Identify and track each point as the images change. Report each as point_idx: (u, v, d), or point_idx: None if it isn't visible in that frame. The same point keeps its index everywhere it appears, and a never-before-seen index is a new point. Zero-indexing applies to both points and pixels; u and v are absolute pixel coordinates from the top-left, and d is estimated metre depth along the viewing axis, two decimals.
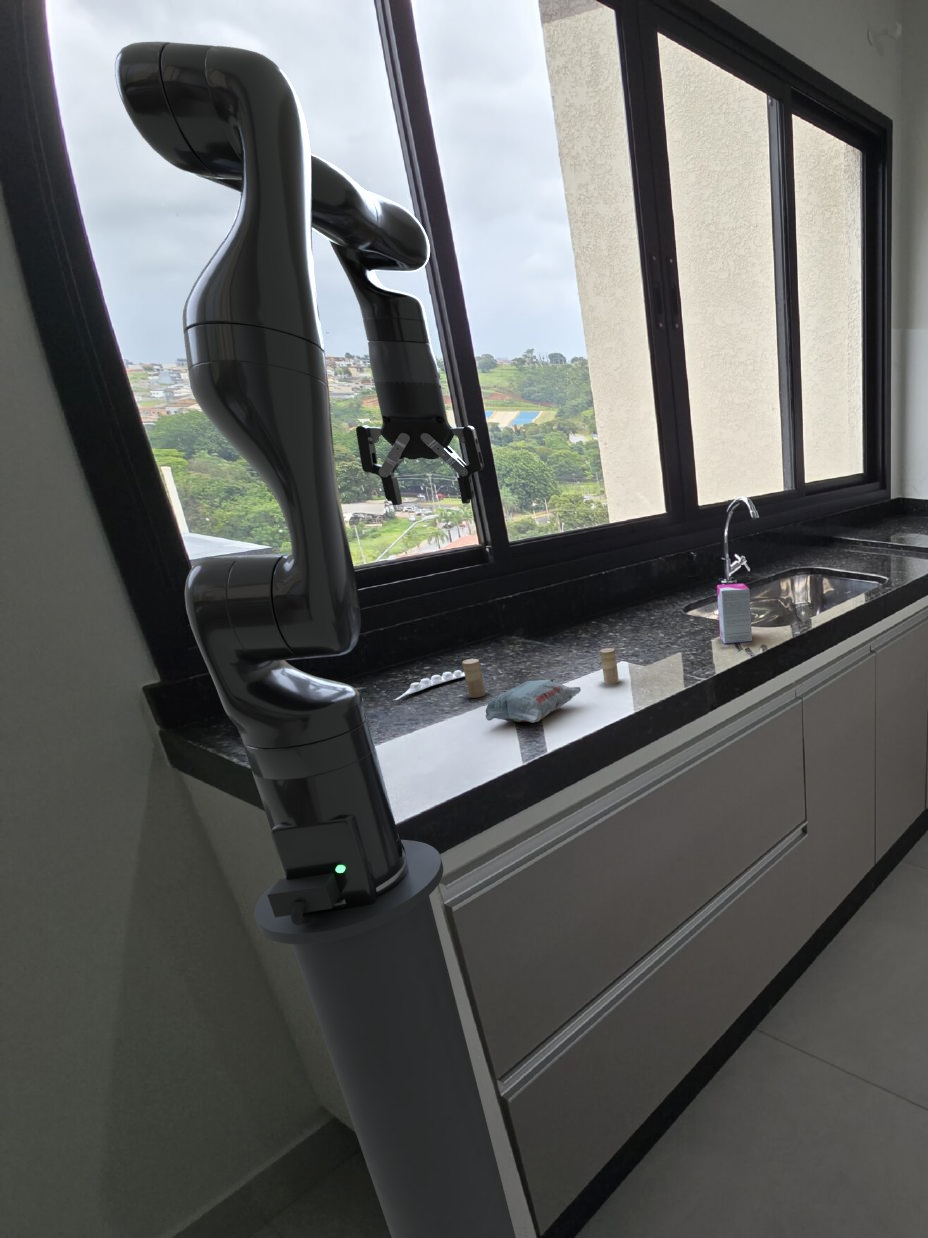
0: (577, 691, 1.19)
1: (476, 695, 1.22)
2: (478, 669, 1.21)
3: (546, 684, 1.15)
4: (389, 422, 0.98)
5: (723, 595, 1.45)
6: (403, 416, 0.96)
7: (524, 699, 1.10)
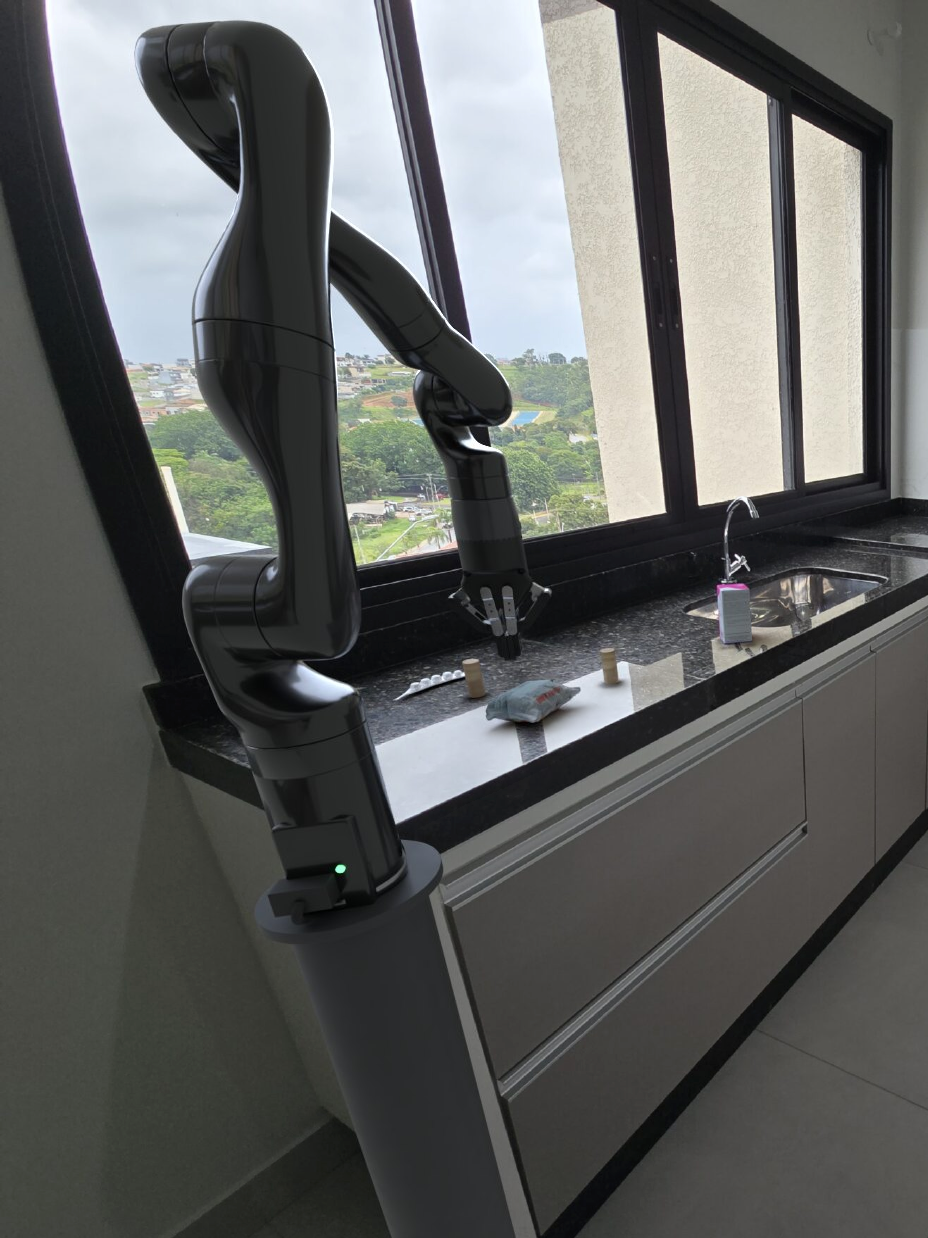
0: (577, 691, 1.19)
1: (476, 695, 1.22)
2: (478, 669, 1.21)
3: (546, 684, 1.15)
4: (470, 576, 0.95)
5: (723, 595, 1.45)
6: (486, 573, 0.93)
7: (524, 699, 1.10)
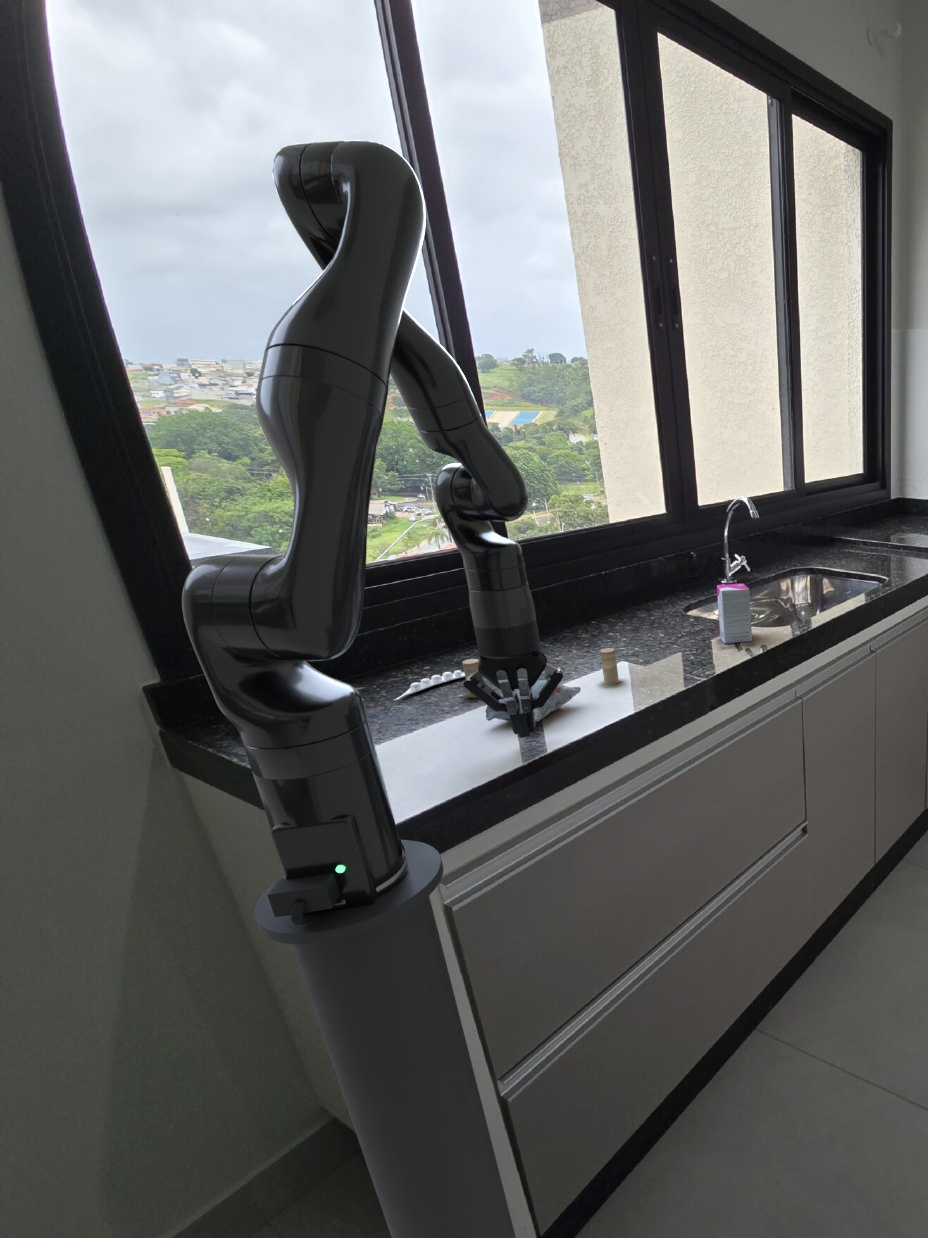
0: (577, 691, 1.19)
1: None
2: None
3: None
4: (486, 659, 0.99)
5: (723, 595, 1.45)
6: (502, 658, 0.97)
7: None
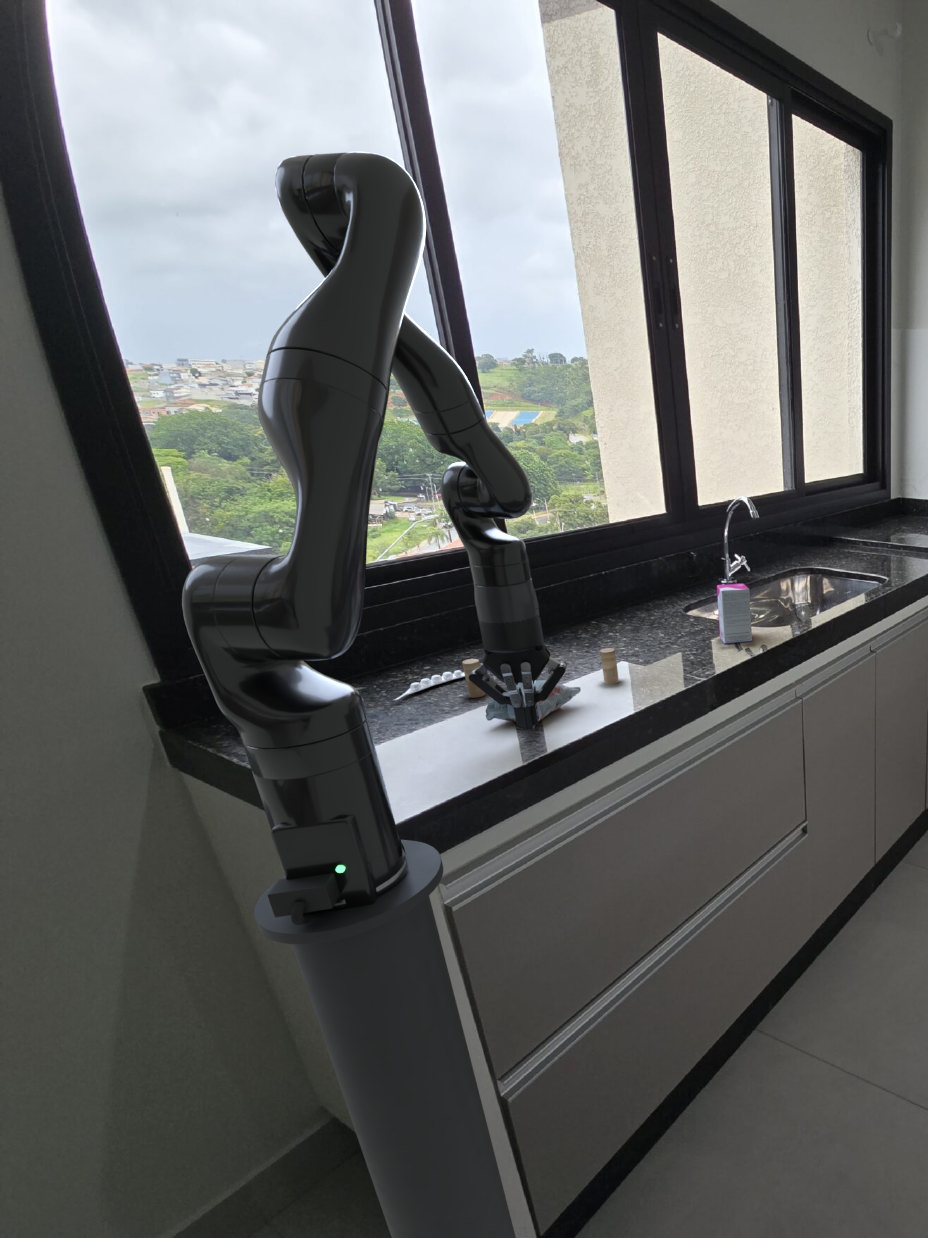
0: (577, 691, 1.19)
1: (476, 695, 1.22)
2: None
3: None
4: (491, 653, 1.01)
5: (723, 595, 1.45)
6: (506, 652, 1.00)
7: (524, 699, 1.10)
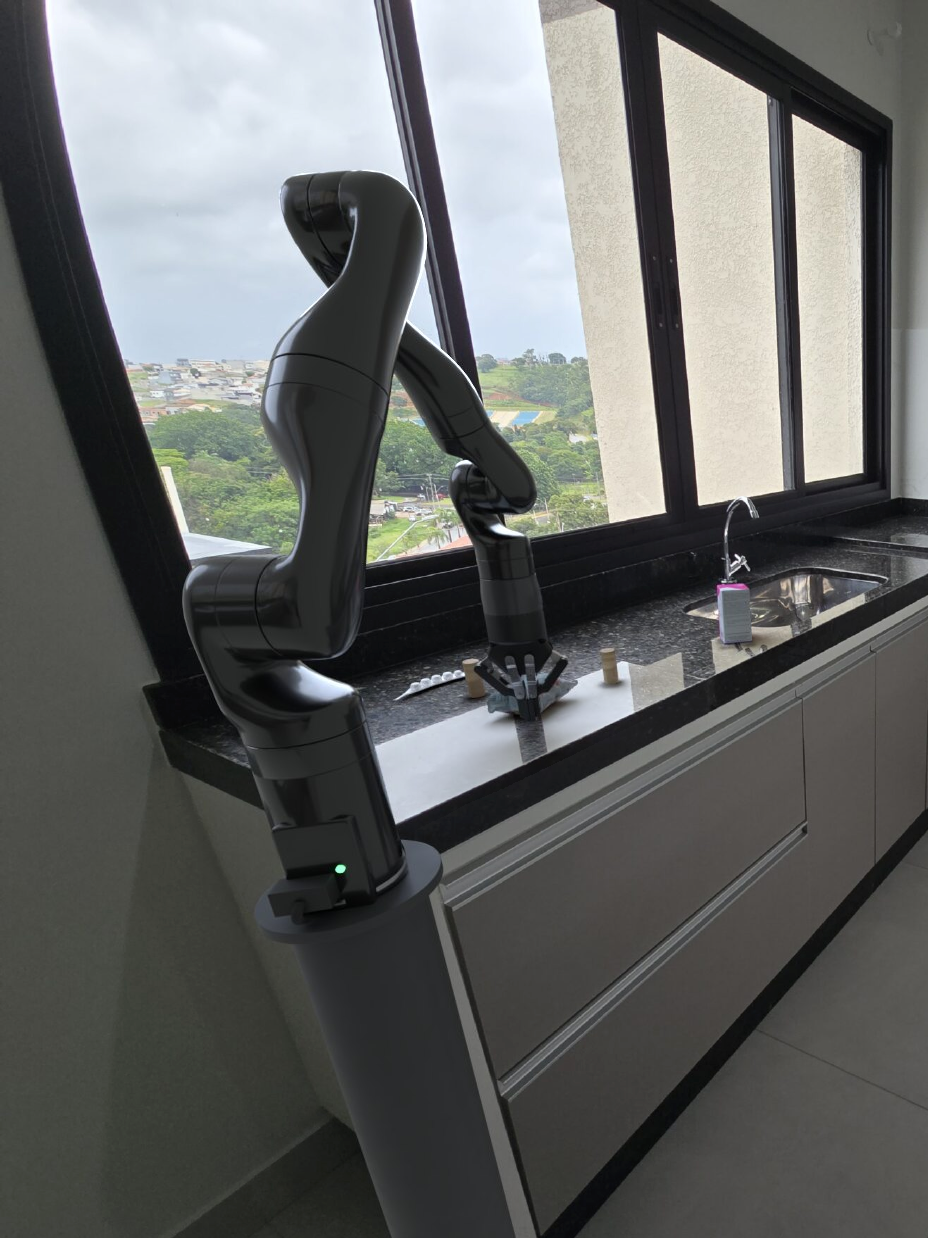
0: (575, 684, 1.22)
1: (476, 695, 1.22)
2: None
3: (545, 677, 1.18)
4: (496, 646, 1.05)
5: (723, 595, 1.45)
6: (511, 644, 1.03)
7: None
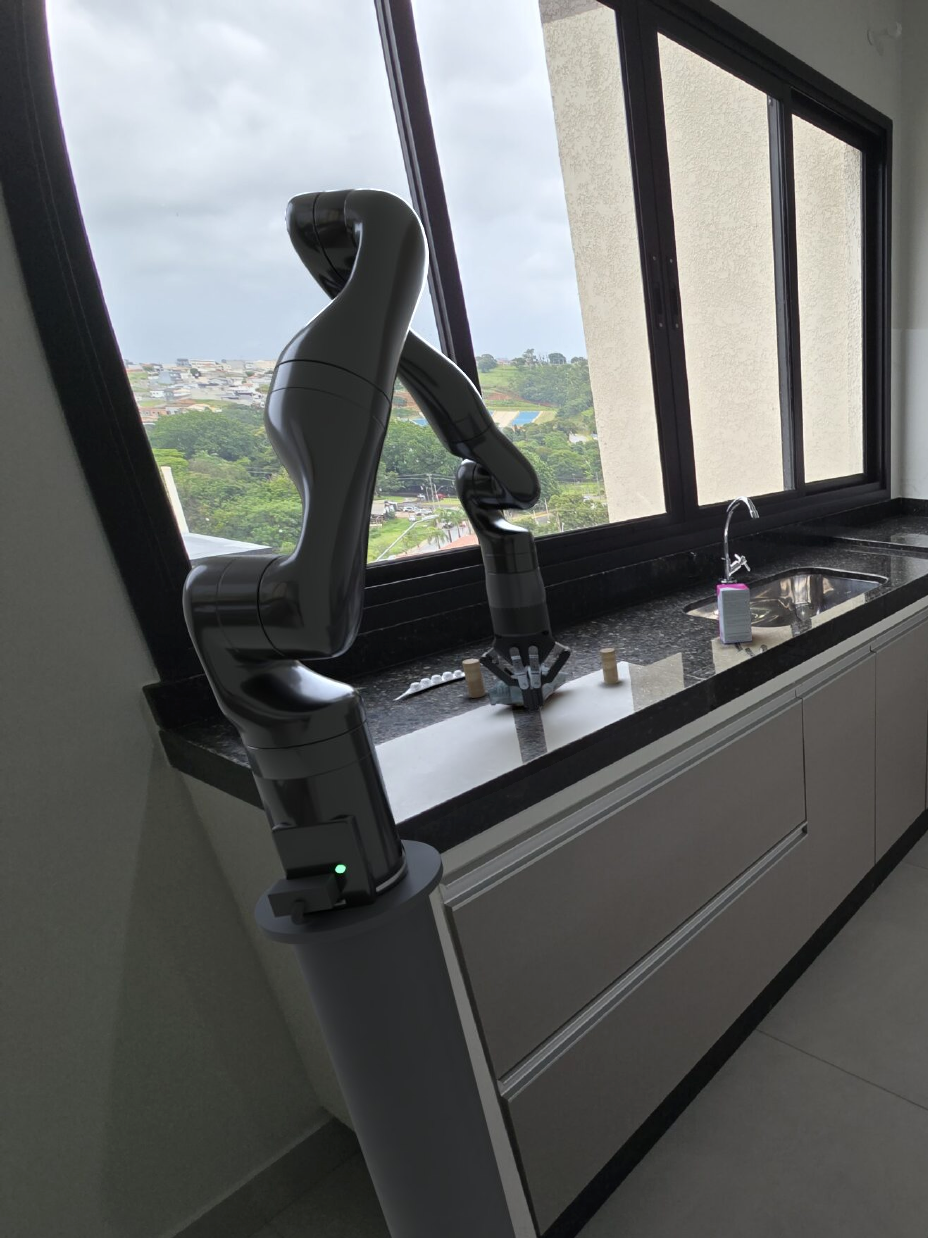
0: (570, 675, 1.25)
1: (476, 695, 1.22)
2: (478, 669, 1.21)
3: (542, 669, 1.21)
4: (501, 637, 1.08)
5: (723, 595, 1.45)
6: (515, 635, 1.06)
7: None
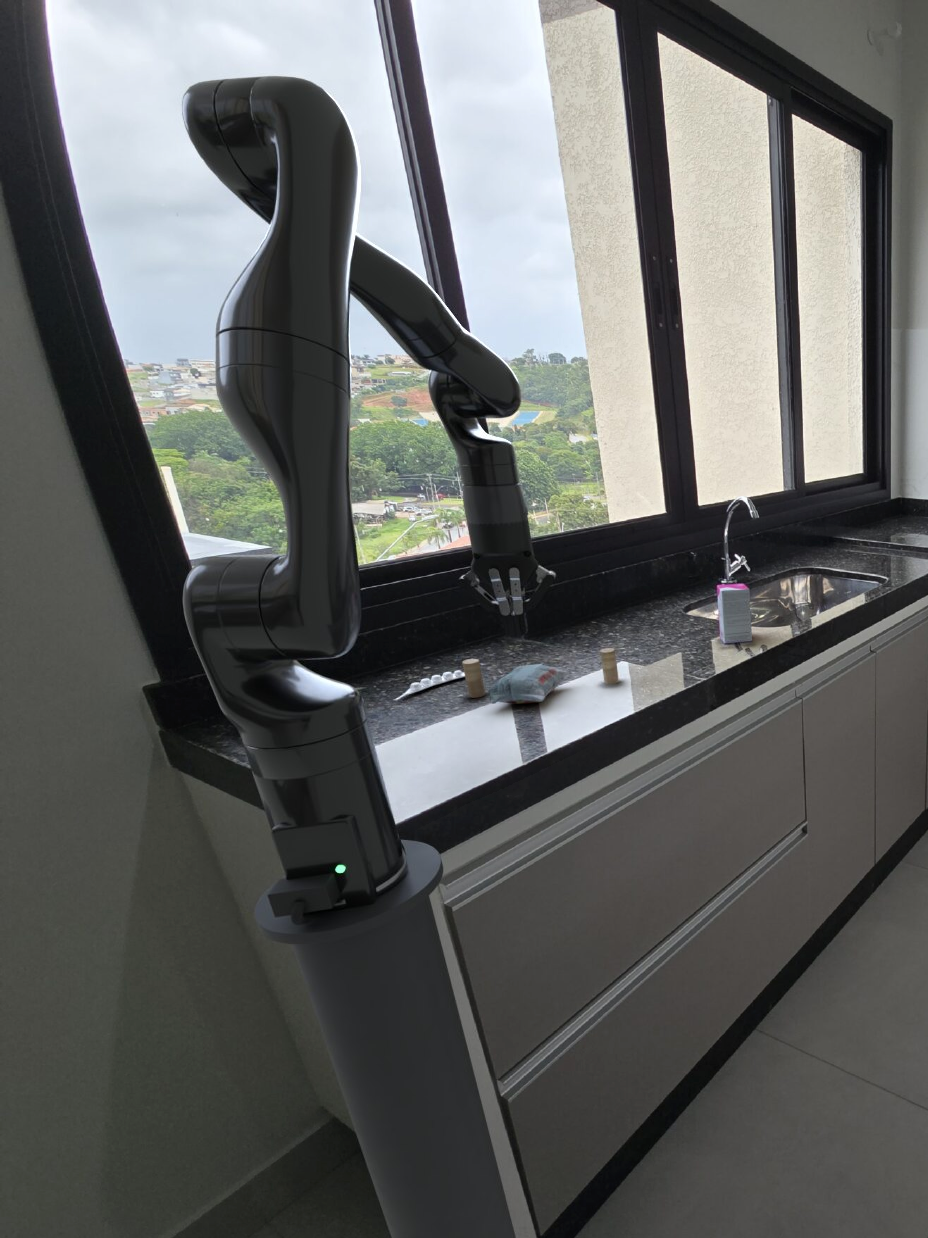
0: (568, 673, 1.26)
1: (476, 695, 1.22)
2: (478, 669, 1.21)
3: (541, 667, 1.22)
4: (479, 558, 1.01)
5: (723, 595, 1.45)
6: (494, 554, 1.00)
7: (527, 681, 1.17)
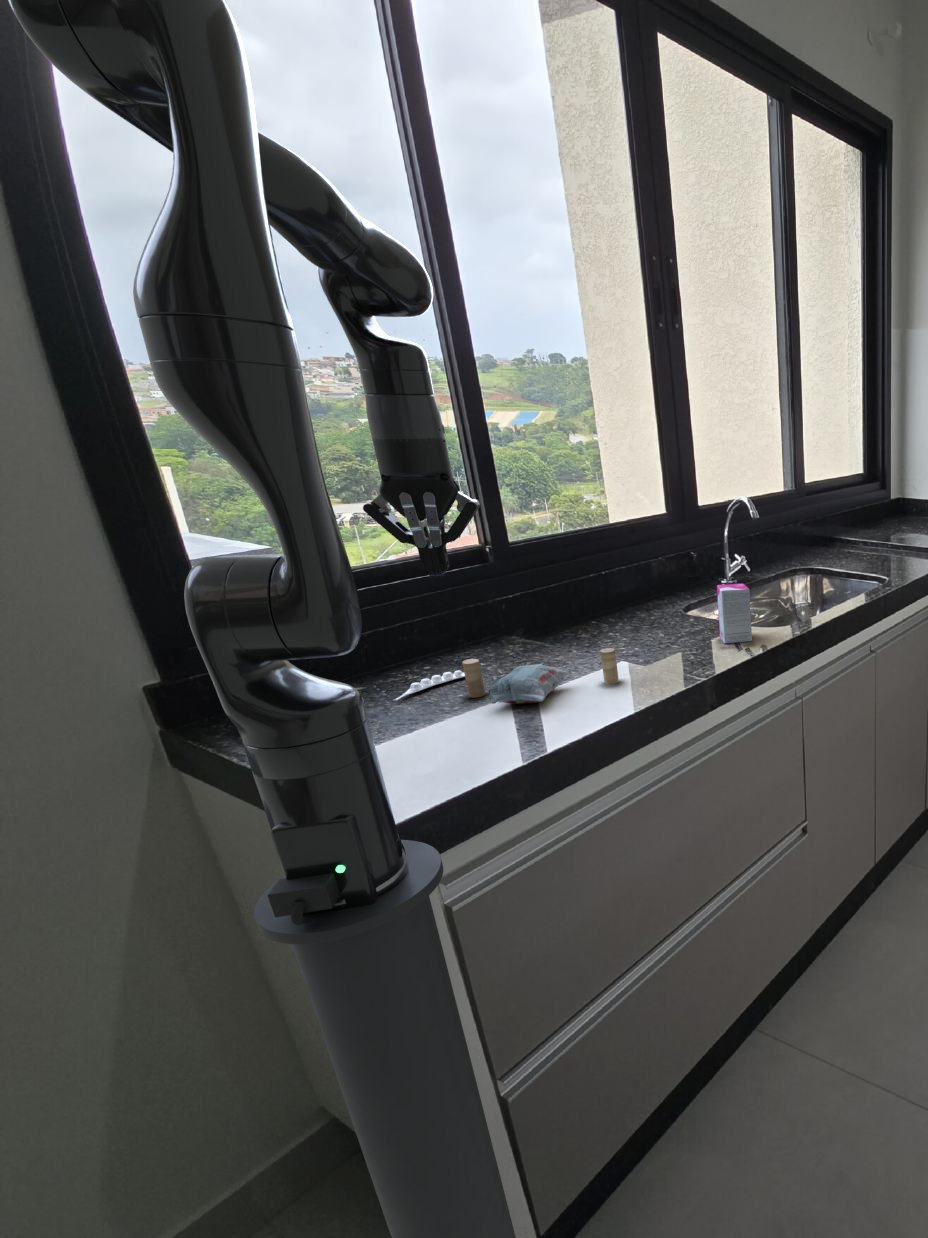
0: (568, 673, 1.26)
1: (476, 695, 1.22)
2: (478, 669, 1.21)
3: (541, 667, 1.22)
4: (388, 481, 0.90)
5: (723, 595, 1.45)
6: (404, 475, 0.88)
7: (527, 681, 1.17)
